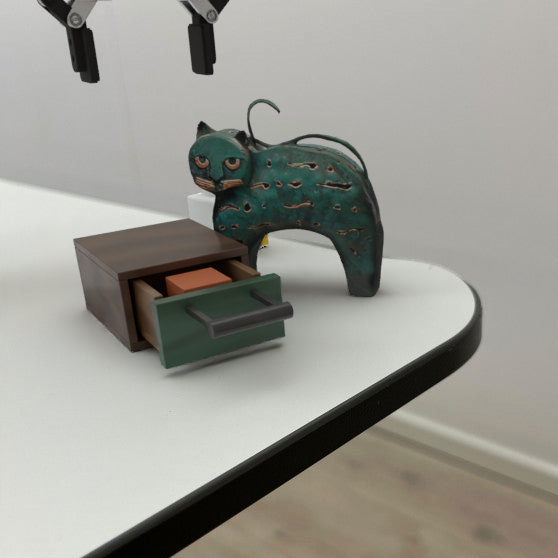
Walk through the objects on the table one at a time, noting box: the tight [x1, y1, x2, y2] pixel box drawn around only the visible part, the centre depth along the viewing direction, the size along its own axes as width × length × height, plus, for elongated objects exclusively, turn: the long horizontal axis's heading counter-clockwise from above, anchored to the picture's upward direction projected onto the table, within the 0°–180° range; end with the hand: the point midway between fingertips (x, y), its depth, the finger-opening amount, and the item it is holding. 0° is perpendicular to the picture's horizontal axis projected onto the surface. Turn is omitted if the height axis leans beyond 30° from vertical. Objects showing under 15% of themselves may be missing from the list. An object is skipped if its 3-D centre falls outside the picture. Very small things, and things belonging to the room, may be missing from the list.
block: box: [165, 267, 232, 297], centre depth 69 cm, size 4×4×4 cm
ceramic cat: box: [187, 98, 385, 298], centre depth 80 cm, size 20×6×20 cm, turn 75°
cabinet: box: [72, 217, 250, 353], centre depth 77 cm, size 15×13×8 cm
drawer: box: [128, 258, 295, 370], centre depth 68 cm, size 20×11×6 cm, turn 34°
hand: (148, 77), depth 64 cm, fingers open, 9 cm apart
